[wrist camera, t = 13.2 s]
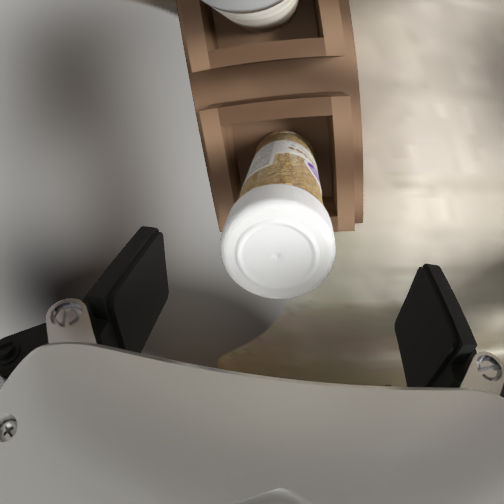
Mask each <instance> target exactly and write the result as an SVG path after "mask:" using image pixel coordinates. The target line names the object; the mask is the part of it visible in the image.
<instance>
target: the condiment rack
mask: <svg viewBox="0 0 504 504" xmlns="http://www.w3.org/2000/svg"><path fill="white" fill-rule="evenodd" d="M176 3H177V10H178V16H179V22H180V28H181V33H182V39H183V45H184V51H185V57H186V62H187V68H188V73H189V79H190V84H191V90H192V95H193V101H194V106H195V111H196V116H197V122H198V127H199V132H200V136H201V142H202V147H203V152H204V157H205V162H206V167H207V172H208V177H209V182H210V187H211V192H212V197H213V202H214V206H215V211H216V215H217V221H218V225H219V230H220V232H222V231H223V228H224V225H225V222H226V220H227V217H228V215H229V212H230V210H231V208H232V207H233V205H234V204H235V203H236V202H237V200H238V199H239V197H240V193H241V189H242V186H243V184H244V181H245V179H246V176H247V174H248V171H249V168H250V166H251V163H252V161H253V159H254V157H255V152H256V149H257V146H258V145H259V143H260V142H261V141H262V140H263V139H264V138H265V137H266V136H267V135H269V134H271V133H273V132H276V131H282V130H287V131H294V132H296V133H298V134H300V135H302V136H304V137H305V138H306V139H307V140H308V141H309V142H310V143H311V145H312V147H313V149H314V152H315V158H316V165H317V170H318V176H319V181H320V186H321V191H322V201H323V205H324V207H325V209H326V211H327V212H328V214H329V217H330V219H331V223H332V227H333V231H334V232H339V231H354V226H355V223H363V148H362V124H361V107H360V93H359V81H358V70H357V61H356V52H355V43H354V36H353V28H352V21H351V15H350V8H349V2H348V0H176Z"/></svg>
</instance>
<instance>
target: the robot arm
mask: <svg viewBox="0 0 504 504" xmlns="http://www.w3.org/2000/svg"><path fill="white" fill-rule="evenodd" d="M163 241H164V240H163V234H162V233H161V232H159V230H158V229H157V228H153V227H144V226H142V227H141V228H140V229H139V230H138V231H137V232H136V234H135V235H134V236H133V237H132V238H131V240H130V241H129V242H128V243H127V244H126V246H125V247H124V248H123V249H122V250H121V252H120V253H119V254H118V256H117V257H116V258H115V259H114V260H113V262H112V263H111V264H110V265H109V267H108V268H107V269H106V270H105V272H104V273H103V274H102V276H101V277H100V278H99V279H98V281H97V282H96V283H95V285H94V286H93V287H92V288H91V290H90V291H89V292H88V294H87V295H86V296H85V298H84V299H83V300H82V301H81V300H77V299H64V300H62V301H59V302H57V303H56V304H54V305H53V306H52V307H51V308H50V309H49V310H48V313H47V315H46V323H44V324H41V325H38V326H35V327H32V328H30V329H27V330H24V331H21V332H19V333H16V334H13V335H10V336H7V337H5V338H3V339H1V340H0V504H504V366H503V364H502V362H501V361H500V360H499V359H498V358H497V357H496V356H495V355H493V354H491V353H489V352H479V353H477V352H476V349H475V348H476V346H477V343H476V341H475V338H474V336H473V334H472V331H471V329H470V327H469V325H468V322H467V320H466V318H465V316H464V314H463V312H462V309H461V307H460V305H459V303H458V301H457V299H456V297H455V295H454V293H453V291H452V289H451V287H450V285H449V283H448V281H447V279H446V277H445V275H444V273H443V272H442V270H441V268H440V267H439V266H437V265H431V264H424V265H423V267H419V269H418V270H417V273H416V275H415V278H414V280H413V283H412V285H411V287H410V290H409V292H408V294H407V297H406V299H405V301H404V304H403V306H402V308H401V310H400V312H399V315H398V317H397V319H396V322H395V332H396V336H397V341H398V345H399V349H400V354H401V358H402V363H403V367H404V372H405V377H406V382H407V387H389V386H366V385H349V384H336V383H324V382H313V381H303V380H293V379H285V378H277V377H269V376H261V375H254V374H248V373H241V372H235V371H228V370H222V369H216V368H210V367H205V366H200V365H194V364H189V363H184V362H179V361H175V360H170V359H165V358H160V357H155V356H150V355H146V354H141V351H142V349H143V347H144V345H145V343H146V341H147V339H148V337H149V335H150V333H151V331H152V329H153V326H154V324H155V323H156V320H157V319H158V316H159V315H160V313H161V310H162V308H163V307H164V304H165V302H166V301H167V298H168V292H169V291H168V281H167V273H166V262H165V251H164V242H163Z"/></svg>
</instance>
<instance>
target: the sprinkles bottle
mask: <svg viewBox="0 0 504 504" xmlns="http://www.w3.org/2000/svg"><path fill="white" fill-rule="evenodd" d="M335 253H336V246H335V238H334V231H333V227H332V223H331V219H330V217H329V214H328V212H327V211H326V209H325V207H324V205H323V201H322V191H321V186H320V181H319V176H318V170H317V165H316V158H315V152H314V149H313V147H312V145H311V143H310V142H309V141H308V140H307V139H306V138H305V137H304V136H302V135H300V134H298V133H296V132H294V131H287V130H282V131H276V132H273V133H271V134H269V135H267V136H266V137H265V138H264V139H263V140H262V141H261V142H260V143H259V145H258V146H257V149H256V152H255V157H254V159H253V161H252V163H251V166H250V168H249V171H248V174H247V176H246V179H245V181H244V184H243V186H242V189H241V193H240V197H239V199H238V200H237V202H236V203H235V204H234V205H233V207H232V208H231V210H230V212H229V215H228V217H227V220H226V222H225V225H224V228H223V231H222V234H221V239H220V255H221V260H222V262H223V265H224V267H225V269H226V271H227V272H228V274H229V275H230V277H231V278H232V279H233V280H234V281H235V282H236V283H237V284H238V285H240V286H241V287H243V288H244V289H246V290H247V291H249V292H251V293H253V294H256V295H259V296H262V297H266V298H273V299H285V298H292V297H296V296H300V295H302V294H305V293H307V292H309V291H311V290H313V289H314V288H315V287H317V286H318V285H319V284H320V283H321V282H322V281H323V280H324V279H325V278H326V276H327V275H328V274H329V272H330V270H331V269H332V266H333V263H334V259H335Z"/></svg>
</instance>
